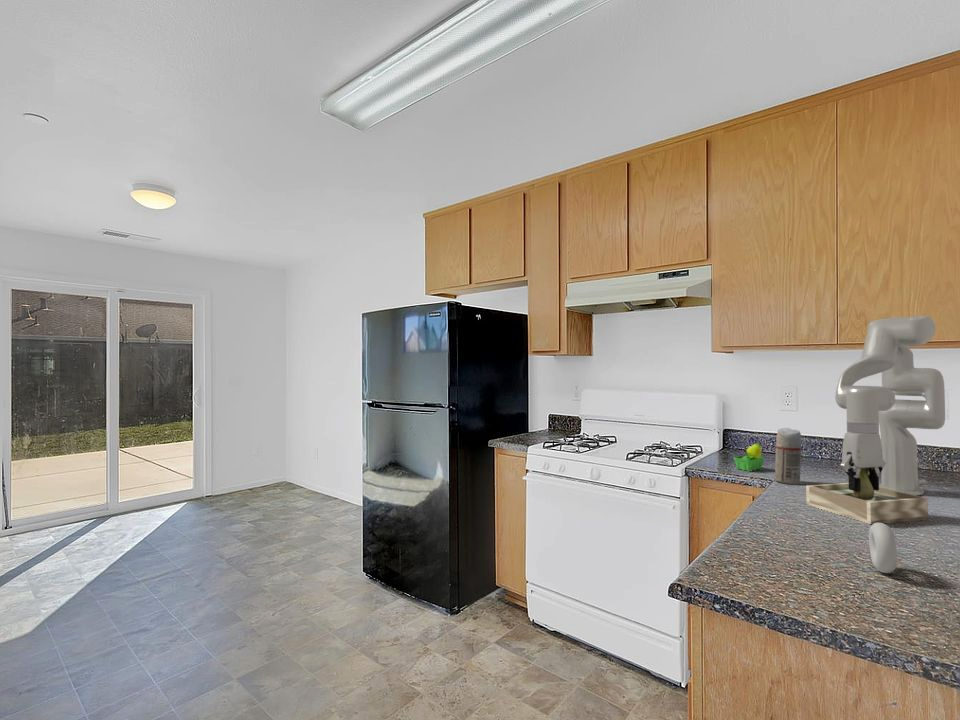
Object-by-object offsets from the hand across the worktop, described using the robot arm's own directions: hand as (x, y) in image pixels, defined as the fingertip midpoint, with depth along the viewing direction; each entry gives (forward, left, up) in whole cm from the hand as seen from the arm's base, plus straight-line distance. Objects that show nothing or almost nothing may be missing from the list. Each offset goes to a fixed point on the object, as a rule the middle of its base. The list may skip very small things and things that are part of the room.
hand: (863, 489), depth 144 cm
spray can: (-10, -37, -7) cm, 39 cm away
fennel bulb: (0, 0, -3) cm, 3 cm away
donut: (+38, +35, -7) cm, 52 cm away
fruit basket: (-14, -60, -7) cm, 62 cm away
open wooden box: (0, 0, -7) cm, 7 cm away
